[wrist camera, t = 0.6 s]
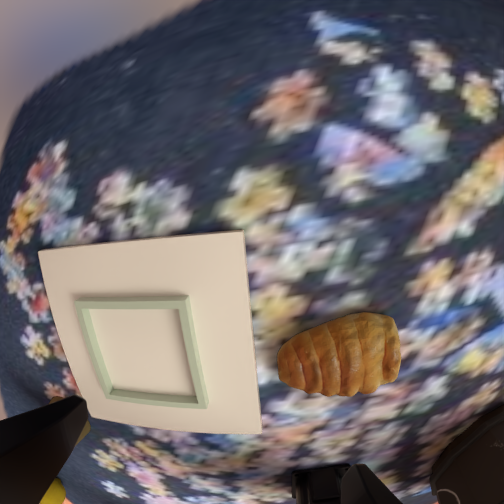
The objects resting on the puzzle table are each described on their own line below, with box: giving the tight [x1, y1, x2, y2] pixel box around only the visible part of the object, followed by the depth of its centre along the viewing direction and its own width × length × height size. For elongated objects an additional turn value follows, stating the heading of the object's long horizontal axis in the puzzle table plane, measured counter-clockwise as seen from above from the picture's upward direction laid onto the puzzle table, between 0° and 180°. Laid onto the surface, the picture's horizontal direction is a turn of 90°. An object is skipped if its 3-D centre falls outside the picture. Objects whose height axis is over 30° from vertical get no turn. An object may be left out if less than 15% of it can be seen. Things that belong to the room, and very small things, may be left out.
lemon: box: [40, 478, 66, 504], centre depth 27 cm, size 6×6×8 cm
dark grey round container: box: [430, 405, 504, 504], centre depth 17 cm, size 18×18×16 cm
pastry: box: [277, 312, 401, 397], centre depth 20 cm, size 9×7×4 cm
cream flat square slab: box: [38, 230, 262, 434], centre depth 22 cm, size 18×18×2 cm
